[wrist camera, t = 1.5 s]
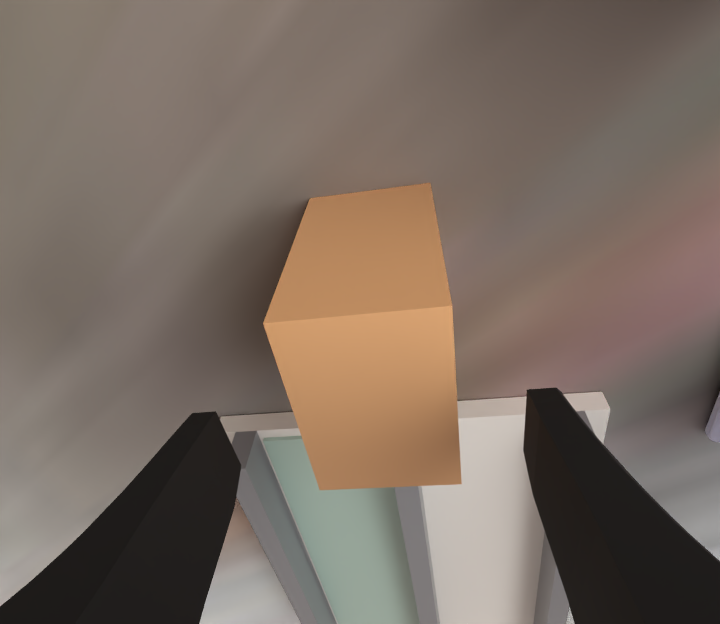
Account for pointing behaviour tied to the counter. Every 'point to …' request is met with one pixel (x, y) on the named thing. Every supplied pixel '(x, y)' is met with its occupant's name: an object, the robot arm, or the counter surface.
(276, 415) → the slot rack
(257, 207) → the counter surface
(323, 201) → the orange block
